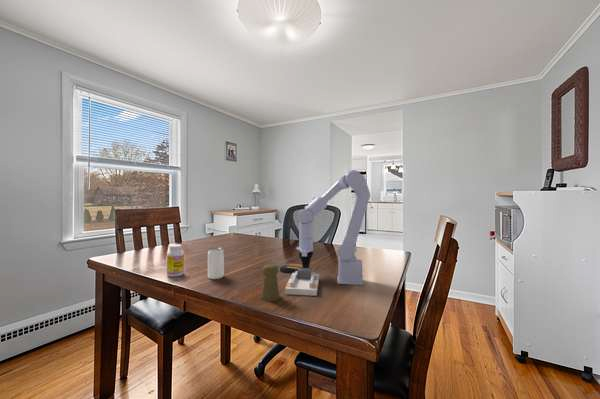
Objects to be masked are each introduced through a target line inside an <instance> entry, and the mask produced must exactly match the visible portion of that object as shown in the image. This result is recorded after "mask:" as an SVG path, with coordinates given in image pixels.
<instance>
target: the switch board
mask: <svg viewBox="0 0 600 399" xmlns="http://www.w3.org/2000/svg"><path fill="white" fill-rule="evenodd" d="M319 280H320V273H316V272H315V271H311V278H310V279H298V278H297V271H295V273H291V276H290V278H289V280H288V282H287V283H286V286H285V288H284V295H292V296H293V295H294V296H317V295H318V294H317V293H318V288H319Z"/></svg>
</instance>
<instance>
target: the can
mask: <svg viewBox="0 0 600 399" xmlns="http://www.w3.org/2000/svg"><path fill="white" fill-rule="evenodd" d="M224 253H225V251H224V250H223V247H211V248H208V252H207V278H208V279H209V280H220V279H221V278H223V277H224V275H225V262H224V261H225V260H224V259H225V258H224V257H225V254H224Z"/></svg>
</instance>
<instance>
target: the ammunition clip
mask: <svg viewBox="0 0 600 399" xmlns="http://www.w3.org/2000/svg"><path fill="white" fill-rule="evenodd" d="M299 268H303V265H302V264H299V263H289V264H284V265H282V266H280V267H279V272H282V273H289V274H292V273H295V271H298V269H299ZM309 268H311V265H309Z"/></svg>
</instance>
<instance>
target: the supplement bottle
mask: <svg viewBox="0 0 600 399" xmlns="http://www.w3.org/2000/svg"><path fill="white" fill-rule="evenodd" d="M182 245H183V244H178V243H177V244H171V245H169V251H168V252H167V253H166V276H168V277H170V278H171V277H179V276H182V275H183V274H185V273H184V272H185V269H184V268H185V267H184V266H185V251H183V250H182V247H183V246H182Z"/></svg>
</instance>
